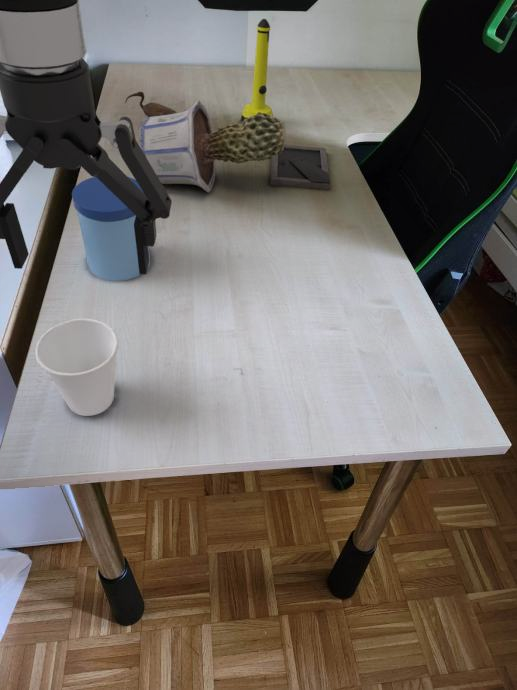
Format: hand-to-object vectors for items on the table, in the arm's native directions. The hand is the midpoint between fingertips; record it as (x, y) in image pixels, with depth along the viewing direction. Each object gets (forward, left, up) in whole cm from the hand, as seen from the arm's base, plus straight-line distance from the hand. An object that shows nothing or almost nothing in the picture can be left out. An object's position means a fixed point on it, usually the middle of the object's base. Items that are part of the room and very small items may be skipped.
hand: (83, 264), depth 58 cm
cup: (-3, -2, -22) cm, 22 cm away
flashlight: (+43, +84, -22) cm, 97 cm away
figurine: (+16, +85, -22) cm, 89 cm away
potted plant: (+25, +54, -22) cm, 64 cm away
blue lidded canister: (+3, +29, -22) cm, 36 cm away
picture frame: (+47, +59, -22) cm, 79 cm away
